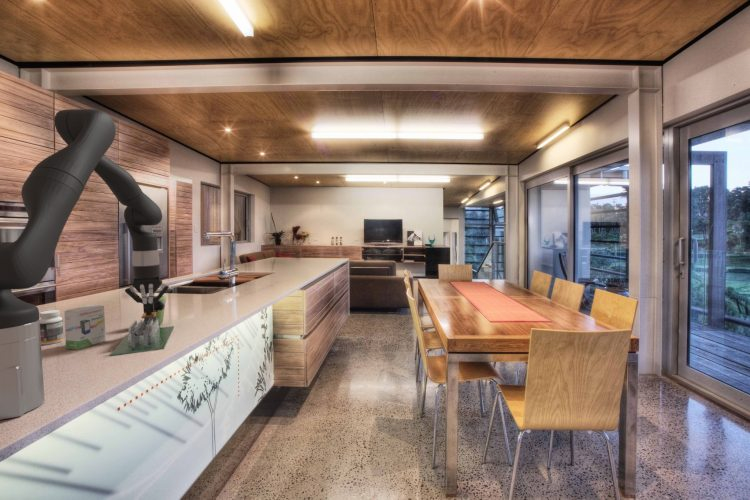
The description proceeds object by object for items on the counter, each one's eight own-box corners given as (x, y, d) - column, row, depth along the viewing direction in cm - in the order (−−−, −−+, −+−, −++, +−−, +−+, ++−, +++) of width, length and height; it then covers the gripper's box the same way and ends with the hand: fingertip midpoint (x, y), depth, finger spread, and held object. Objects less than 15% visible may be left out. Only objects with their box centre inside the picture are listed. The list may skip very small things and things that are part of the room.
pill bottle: (35, 343, 106) (33, 312, 106) (59, 338, 111) (57, 308, 111) (43, 346, 104) (41, 314, 103) (67, 341, 109) (65, 310, 108)
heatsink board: (164, 348, 101) (163, 328, 100) (110, 355, 95) (109, 334, 95) (173, 327, 123) (173, 310, 123) (130, 331, 118) (130, 314, 118)
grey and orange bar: (146, 335, 101) (146, 332, 101) (131, 337, 99) (131, 334, 99) (156, 313, 118) (156, 311, 118) (144, 315, 116) (143, 312, 116)
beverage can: (145, 324, 127) (144, 293, 127) (168, 322, 130) (166, 291, 130) (142, 328, 122) (140, 296, 121) (165, 326, 125) (164, 294, 124)
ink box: (93, 339, 110) (91, 304, 109) (106, 340, 109) (104, 304, 108) (64, 349, 101) (62, 310, 100) (78, 350, 100) (76, 311, 99)
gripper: (119, 266, 107) (122, 319, 109) (167, 264, 113) (170, 314, 115) (125, 263, 114) (128, 313, 116) (170, 261, 120) (172, 309, 121)
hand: (149, 313), depth 115 cm, fingers closed
